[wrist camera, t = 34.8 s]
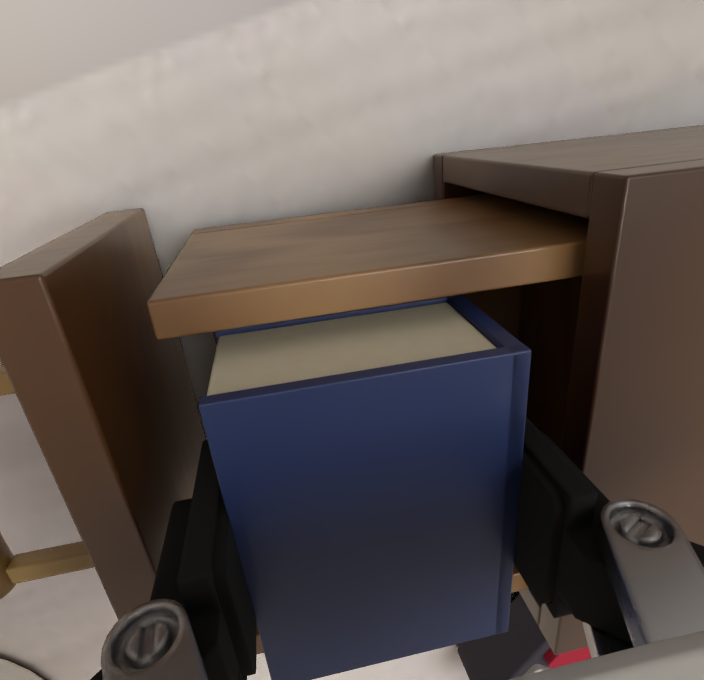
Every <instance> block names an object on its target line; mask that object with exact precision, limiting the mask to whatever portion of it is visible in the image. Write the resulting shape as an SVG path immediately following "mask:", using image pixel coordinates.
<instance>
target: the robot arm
mask: <svg viewBox="0 0 704 680" xmlns="http://www.w3.org/2000/svg"><path fill="white" fill-rule="evenodd" d="M514 564H515V566H516V568H517V569H518V571H519V573H520V574H521V576H522V578H523V580H524V581H525V583H526V585H527V586H528V588H529V590H530V591H531V593H532V595H533V596H534V598H535V600H536V601H537V602H538V603H539V604H544V603H545V604H546V606H547V608H548V609H549V611H550V613H551V614H552V616H553V618H558V617H562V616H566V615H570V614H573V616H574V617H575V618H576V619H578V620H580V621H582V622H583V628H584V632H585V635H586V639H587V643H588V647H589V651H590V655H591V658H590V659H586V660H583V661H579V662H575V663H571V664H567V665H563V666H559V667H555V668H551V669H547V670H544V671H540V672H536V673H532V674H528V675H524V676H521V677H517V678H513V679H509V680H704V546H702V545H699V544H696V543H693V542H690V541H689V540H688V538H687V537H686V535H685V533H684V531H683V529H682V528H681V526H680V525H679V524H678V522H677V521H676V520H675V519H674V518H673V517H672V516H671V515H669V514H668V513H667V512H666V511H664V510H662V509H661V508H659V507H657V506H655V505H653V504H650V503H647V502H644V501H642V500H636V499H630V498H626V499H616V500H613V501H609V500H608V498H607V497H606V496H605V495H604V494H603V493H602V492H601V491H600V490H599V489H598V488H597V487H596V486H595V485H594V484H593V483H592V482H591V481H590V480H589V478H588V477H587V476H586V475H585V474H584V473H583V472H582V471H581V470H580V469H579V468H578V467H577V466H576V465H575V464H574V463H573V462H572V461H571V460H570V458H569V457H568V456H567V455H566V454H565V453H564V452H563V451H562V450H561V449H560V448H559V447H558V446H557V445H556V444H555V443H554V442H553V441H552V440H551V439H550V437H549V436H547V435H546V434H545V433H544V432H540V431H539V430H538V429H537V428H536V426H535V425H534V424H533V423H532V422H531V421H530V420H529V419H528V418H527V417H526V422H525V434H524V446H523V458H522V470H521V482H520V494H519V506H518V518H517V530H516V542H515V554H514ZM101 667H102V669H101V670H100V671H99V672H98V673H97V674H96V675H95V676H94V677H93V678H92V679H91V680H247V676H248V675H253V674H255V673H256V618H255V615H254V611H253V607H252V603H251V600H250V596H249V592H248V588H247V585H246V581H245V577H244V573H243V570H242V566H241V562H240V558H239V555H238V551H237V547H236V543H235V540H234V536H233V532H232V528H231V525H230V521H229V518H228V515H227V512H226V508H225V504H224V500H223V497H222V493H221V489H220V485H219V482H218V478H217V474H216V471H215V467H214V463H213V459H212V456H211V452H210V448H209V444H208V441H207V440H204V441H203V442H202V447H201V452H200V457H199V463H198V468H197V474H196V479H195V485H194V490H193V496H192V498H190V499H185V500H180V501H175V502H174V503H173V506H172V509H171V513H170V517H169V521H168V526H167V530H166V534H165V539H164V543H163V547H162V551H161V556H160V560H159V564H158V569H157V573H156V577H155V581H154V586H153V590H152V594H151V599H150V601H148V602H146V603H143V604H140V605H138V606H137V607H135V608H134V609H132V610H131V611H129V612H128V613H126V614H125V615H124V616H123V617H122V618H121V619H120V620H119V621H118V622H117V623H116V624H115V625H114V627H113V628H112V630H111V631H110V632H109V634H108V635H107V637H106V640H105V642H104V645H103V647H102V653H101ZM0 680H44V679H42V678H41V677H39V676H38V675H36V674H35V673H33V672H32V671H30V670H28V669H26V668H24V667H21V666H19V665H17V664H15V663H12V662H10V661H8V660H5V659H1V658H0Z"/></svg>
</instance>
